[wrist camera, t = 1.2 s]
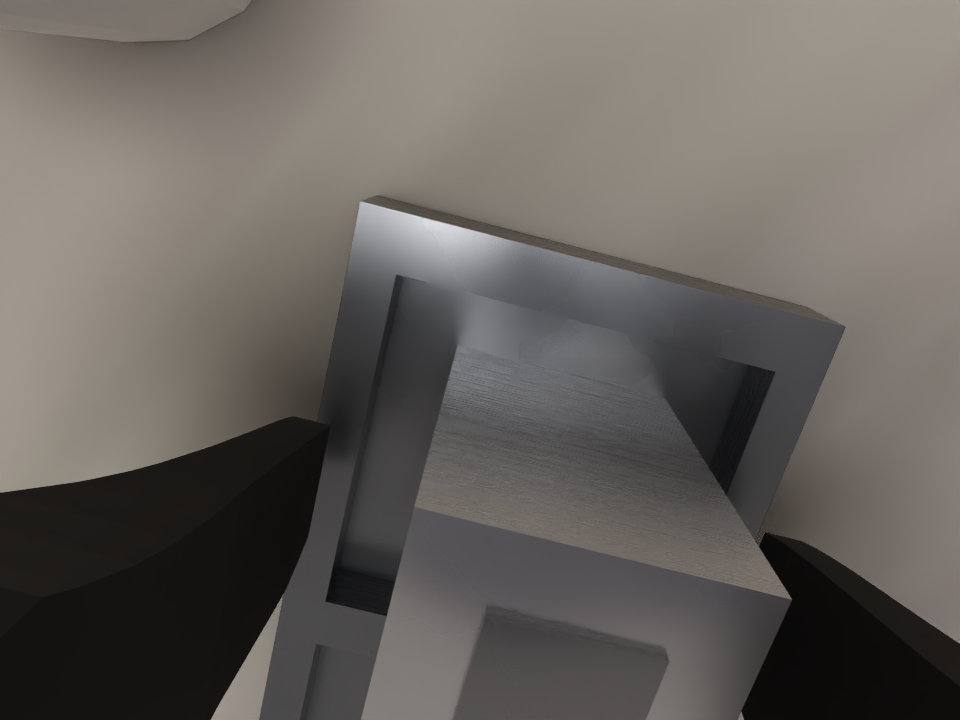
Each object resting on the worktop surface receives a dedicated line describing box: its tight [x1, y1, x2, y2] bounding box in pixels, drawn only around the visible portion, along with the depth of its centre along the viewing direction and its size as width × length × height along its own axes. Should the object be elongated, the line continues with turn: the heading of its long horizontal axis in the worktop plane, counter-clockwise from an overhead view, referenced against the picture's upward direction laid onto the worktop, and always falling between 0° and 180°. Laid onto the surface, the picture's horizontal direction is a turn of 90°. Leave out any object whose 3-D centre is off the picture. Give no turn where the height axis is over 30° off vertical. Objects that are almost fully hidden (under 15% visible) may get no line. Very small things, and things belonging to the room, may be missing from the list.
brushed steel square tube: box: [361, 346, 792, 720], centre depth 10 cm, size 4×4×6 cm
